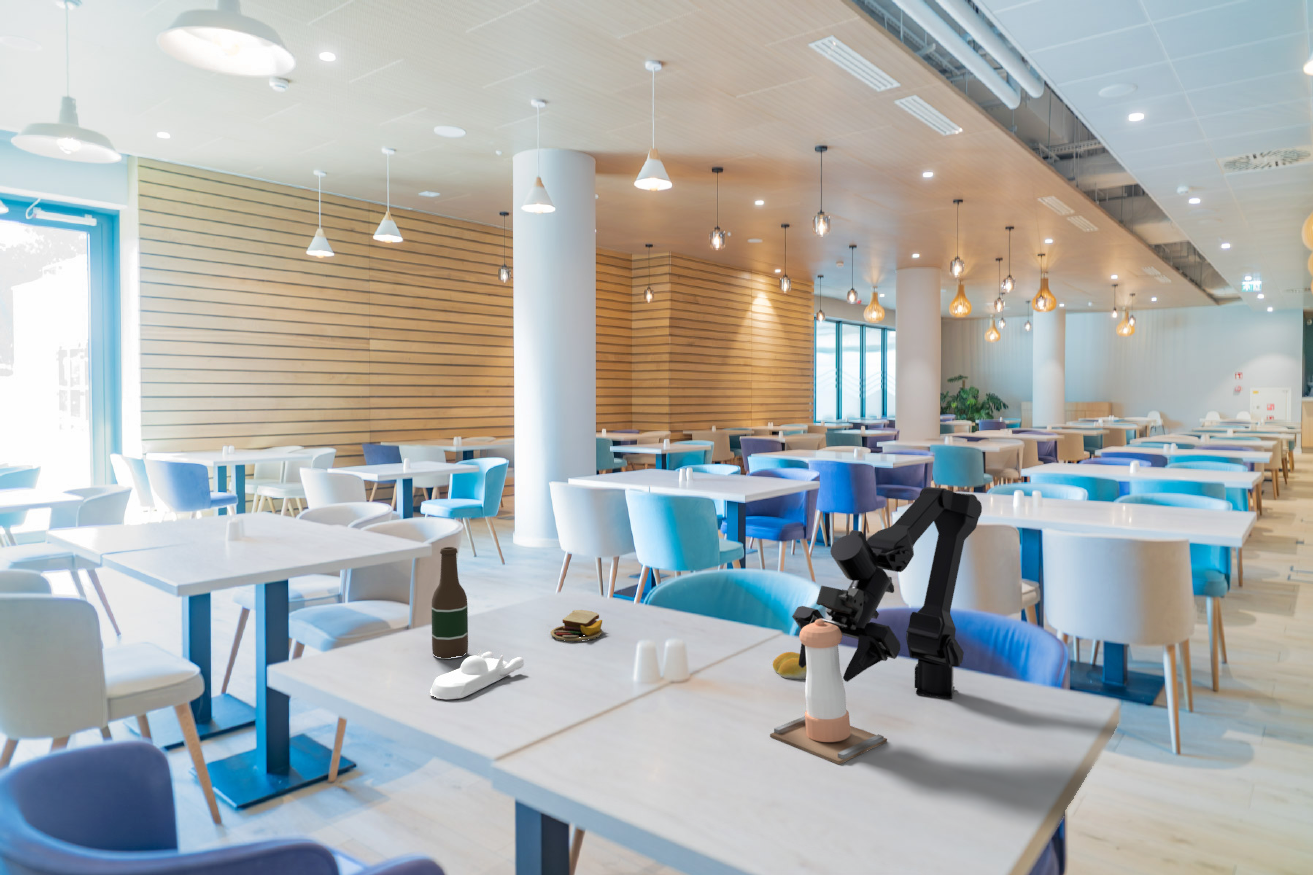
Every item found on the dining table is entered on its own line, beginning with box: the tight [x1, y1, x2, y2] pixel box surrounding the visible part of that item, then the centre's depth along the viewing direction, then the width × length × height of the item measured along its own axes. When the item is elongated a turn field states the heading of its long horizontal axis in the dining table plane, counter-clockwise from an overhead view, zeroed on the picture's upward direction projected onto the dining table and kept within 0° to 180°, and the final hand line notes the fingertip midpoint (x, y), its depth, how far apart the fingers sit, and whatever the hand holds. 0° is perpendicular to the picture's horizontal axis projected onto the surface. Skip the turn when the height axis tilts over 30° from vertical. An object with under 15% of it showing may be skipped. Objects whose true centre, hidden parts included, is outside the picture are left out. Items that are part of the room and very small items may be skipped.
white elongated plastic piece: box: [429, 650, 525, 700], centre depth 163 cm, size 10×20×6 cm, turn 151°
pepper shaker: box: [798, 619, 851, 742], centre depth 136 cm, size 7×7×19 cm
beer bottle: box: [431, 546, 469, 658], centre depth 182 cm, size 8×8×24 cm
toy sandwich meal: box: [550, 609, 603, 642], centre depth 198 cm, size 12×14×5 cm
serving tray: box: [769, 715, 888, 765], centre depth 136 cm, size 13×14×1 cm
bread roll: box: [772, 651, 807, 680], centre depth 169 cm, size 8×9×4 cm
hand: (822, 673), depth 134 cm, fingers open, 9 cm apart
